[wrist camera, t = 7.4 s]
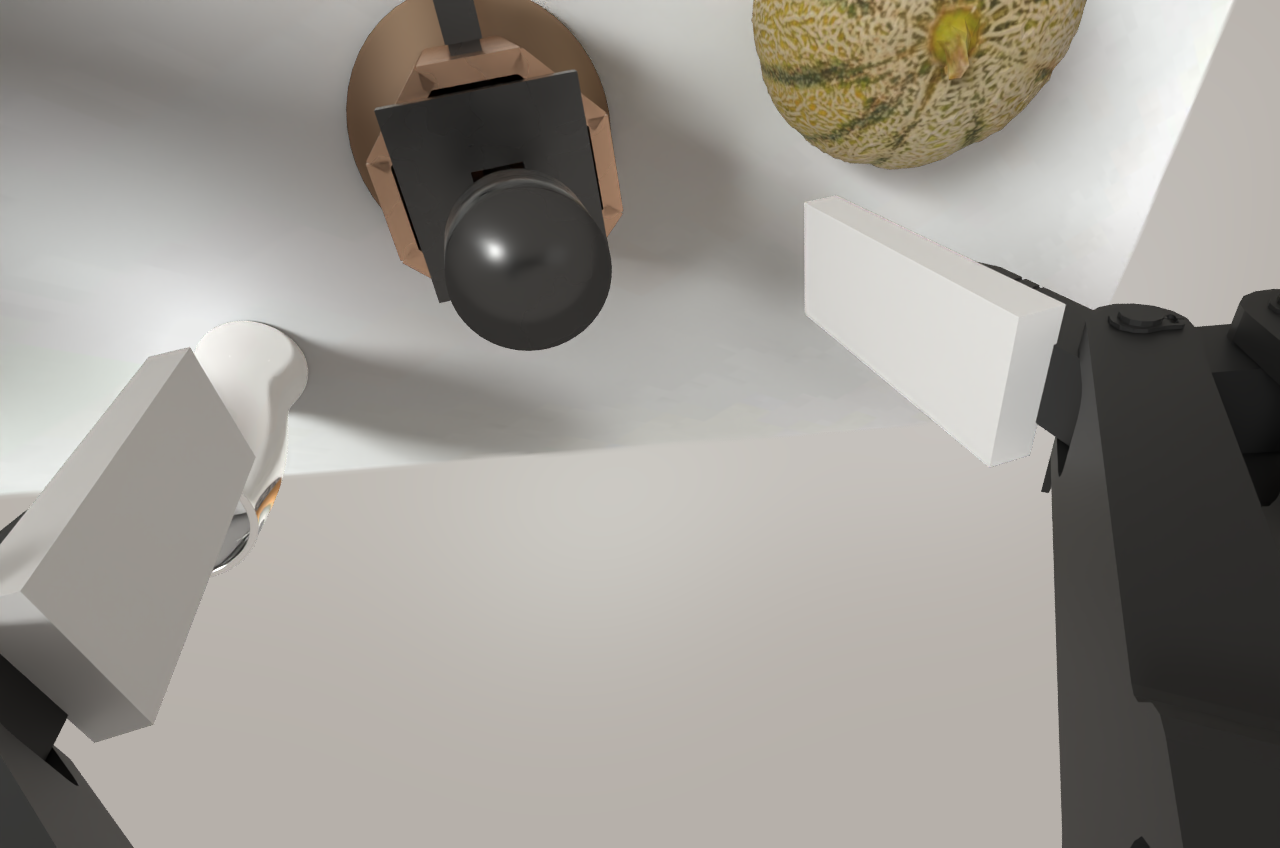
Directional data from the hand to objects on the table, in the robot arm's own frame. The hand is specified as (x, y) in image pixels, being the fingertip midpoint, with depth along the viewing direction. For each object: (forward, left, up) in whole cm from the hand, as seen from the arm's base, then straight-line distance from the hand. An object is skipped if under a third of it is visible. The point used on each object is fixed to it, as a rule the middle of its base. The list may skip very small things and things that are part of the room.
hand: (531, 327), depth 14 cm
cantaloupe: (+21, +3, -27) cm, 35 cm away
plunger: (0, 0, -24) cm, 25 cm away
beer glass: (-17, -10, -27) cm, 34 cm away
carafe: (0, +1, -26) cm, 26 cm away
